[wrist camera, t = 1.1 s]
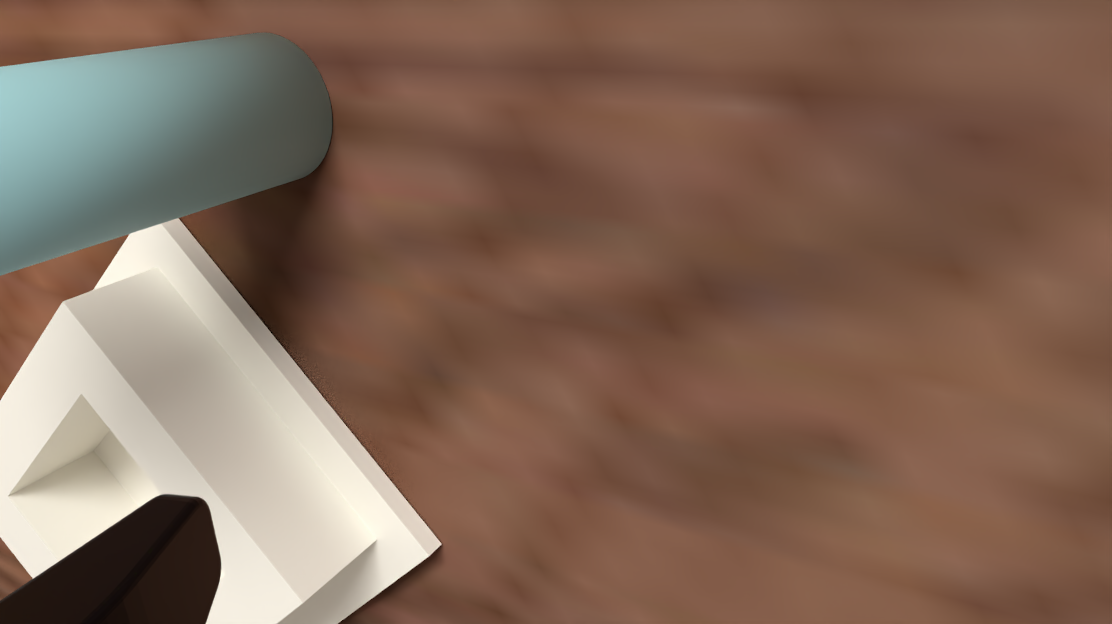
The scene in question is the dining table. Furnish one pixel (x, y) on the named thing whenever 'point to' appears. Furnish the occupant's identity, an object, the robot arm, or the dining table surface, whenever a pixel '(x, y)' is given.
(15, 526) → the socket
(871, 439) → the dining table surface
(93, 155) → the blue cylinder
